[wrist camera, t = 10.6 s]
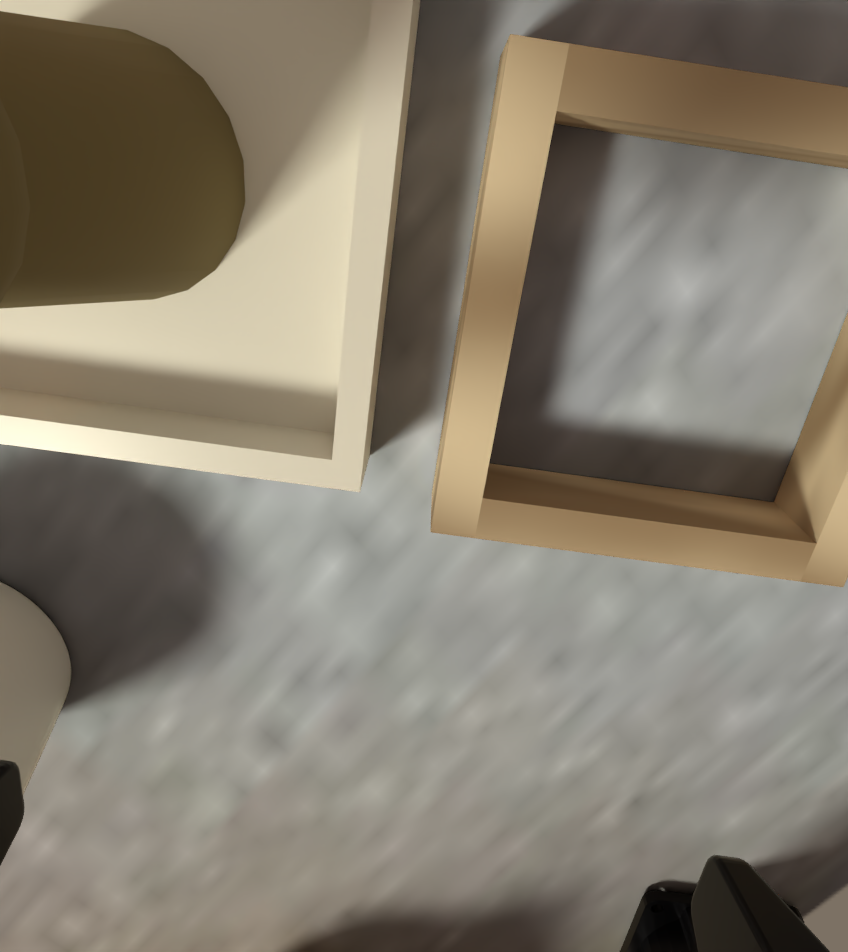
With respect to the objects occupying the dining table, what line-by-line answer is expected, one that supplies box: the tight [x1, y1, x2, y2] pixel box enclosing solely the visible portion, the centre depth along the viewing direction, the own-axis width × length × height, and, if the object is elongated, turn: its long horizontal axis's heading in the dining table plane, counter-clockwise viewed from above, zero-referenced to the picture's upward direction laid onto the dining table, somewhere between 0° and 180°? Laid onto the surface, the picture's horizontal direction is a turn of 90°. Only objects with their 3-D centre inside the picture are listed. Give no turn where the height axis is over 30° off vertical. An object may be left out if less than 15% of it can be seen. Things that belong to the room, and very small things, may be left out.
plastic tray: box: [0, 0, 421, 492], centre depth 16 cm, size 14×14×2 cm
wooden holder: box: [431, 34, 848, 587], centre depth 17 cm, size 11×11×2 cm
